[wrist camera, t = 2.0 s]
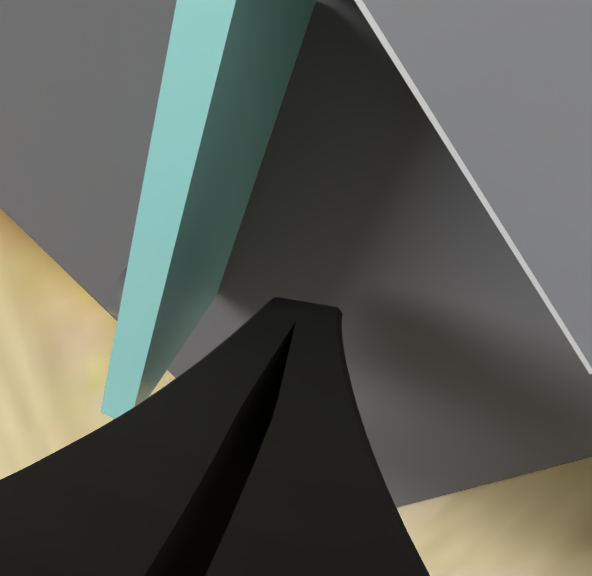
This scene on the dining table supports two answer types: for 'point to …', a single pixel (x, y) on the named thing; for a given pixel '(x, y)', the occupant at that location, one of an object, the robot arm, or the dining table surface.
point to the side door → (198, 177)
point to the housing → (512, 125)
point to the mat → (308, 234)
